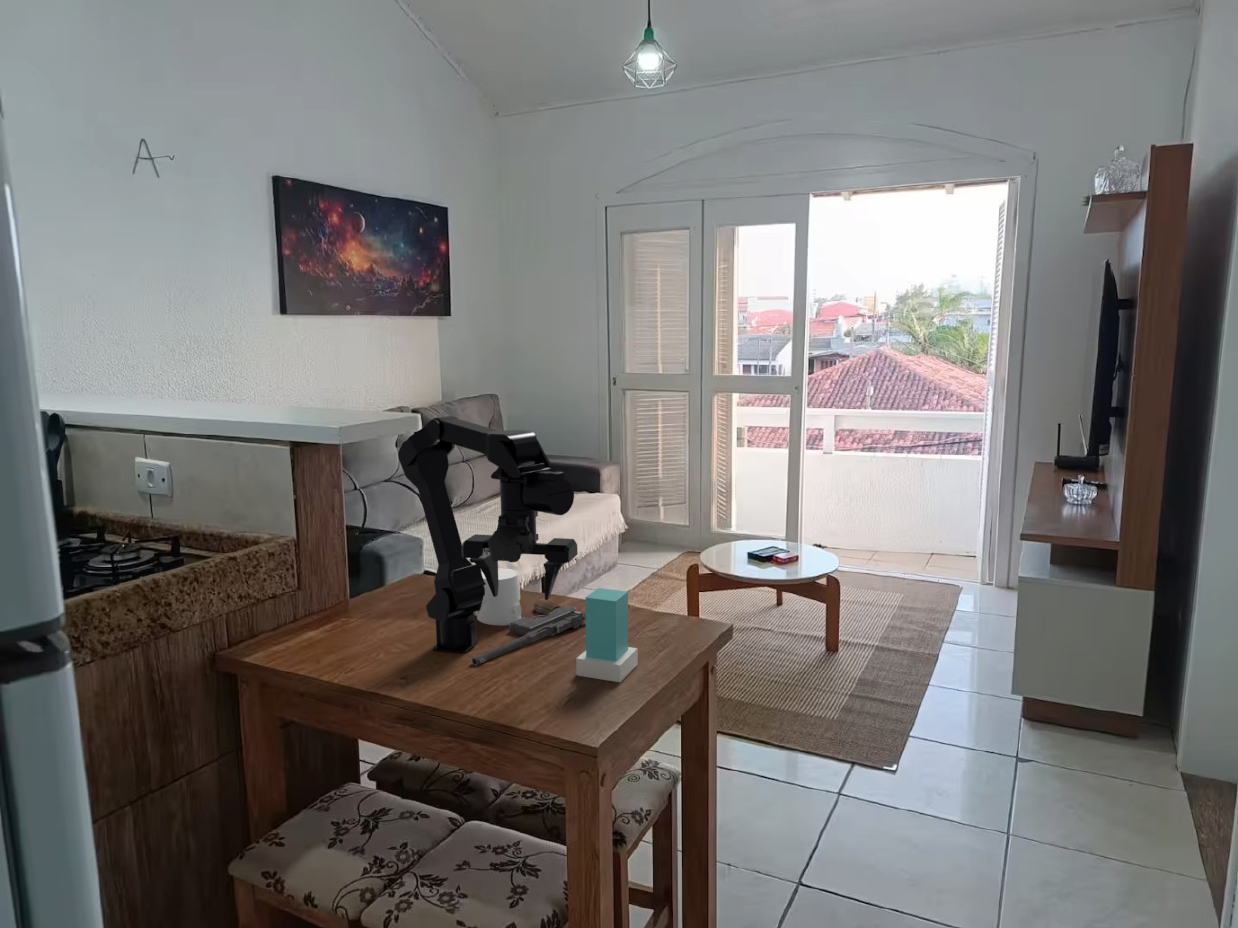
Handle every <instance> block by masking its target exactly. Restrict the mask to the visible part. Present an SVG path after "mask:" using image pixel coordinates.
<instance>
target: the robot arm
mask: <svg viewBox="0 0 1238 928" xmlns="http://www.w3.org/2000/svg"><path fill="white" fill-rule="evenodd" d="M455 446H459V447H461V448H465V449H467V450H472V451H474V452H477V453H481V454H482V455H484V456H485V457H486V459H487V461H488V462H489V463H491V464H493V465H494V466H496V467H497V468H496V470H495V471H493V472H492V473H491V475H490V478H491V480H499V494H500V495H499V496H500V515H499V516H498V520H497V528H496V529H495V531H494V532H493V533H492V534H474V535H472V536H470V537H469V538H467V539H465V540H464V541H463V542H462V540H461V536H460V532H459V528H458V524H457V522H456V518H455V513H454V510H453V508H452V503H451V501H450V496H449V492H448V489H447V485H446V478H447V475H448V471H449V468H450V463H449V458H448V457H449V455H450V454H451V453H452V451H453V450H454V449H455ZM397 454H398V455H397V459H398V461H399V463H400V466H401V468H402V470H403V474H404V476H405V478H406V479H407V480H409V482H411V484H412V485H413V486H414V487H415V488H416V489H417V490H418V494H419V498H420V501H421V505H422V509H423V512H424V517H425V519H426V523H427V527H428V531H429V534H430V535H429V536H430V538H431V541H432V546H433V550H434V553H435V556H436V557H435V558H436V561H437V565H438V566H437V569H436V574H435V577H434V580H433V583H434V584H433V585H434V590H435V594H434V595H433V596H432V598H431V599H430V600H429V602H428V603H427V604H426V606H425V609H426V612H427V616H428V618H430V619H433V620H435V637H436V640H435V641H436V643H435V645H434V646H432V651H438V652H439V651H440V652H449V653H458V654H465V653H467V652H468V651H469V650H470V649H471V648H472V647H474V646H475V645H476V644H477V643H478V642H479V638H478V631H477V627H478V626H477V620H475V616H474V615H475V613H476V611H480V609H481V605H482V601H483V597H484V595H485V588H484V585H486V583H485V582H484V580H483V577H482V573H481V571H482V572H483V574H484V575H485V578H486V580H487V582H488V585H489V587H490V590H491V592H492V594H493V596H494V597H496V596H497V595H498V568H499V563H498V562H509V563H517V562H518V561H519V560H520V559H521V557H522V556H521V555H537V556H539V555H541V556H544V558H545V559H546V561H545V562H544V563H543V568H544V574H545V575H544V591H543V592H544V598H545V600H548V599H549V600H550V597H551V594H552V591H553V588H554V585H555V582H556V579H557V577H558V575H559V572H560V570H561V568H562V567H563V566H565V565H566V564H567V563H570V562H571V561H572V560H573V559H574V558H575V557H576V556H577V555H578V543H577V542H576V540H575V539H574V538H564V537H563V538H561V537H553V538H552V539H551V540H550V541H548V542H546V543H541V542H539V543H538V540H539V533H537V519H536V518H537V517H538V516H539V513H544V514H550V515H554V516H555V515H557V516H563V515H565V514H567V513H568V512H569V511H570V509H572V506H573V504H574V500H575V491H574V490H573V486H572V484H571V483H570V482H569V481H568V480H566V479H565V473H564V471H554V468H553V466H552V463H550V462H551V461H550V460H549V458H548V457H547V455H546V453H545V451H544V449H543V447H542V445H541V444H540V441H539V440H538V438H537V435H536V434H535V432H533V431H531V430H523V429H521V430H519V429H512V430H498V429H495V428H492V427H487V426H484V425H481V424H477V423H473V422H470V421H467V420H462V419H460V418H458V417H457V416H453V415H448V416H447V415H446V416H438V417H434V418H432V419H431V420H429V421H428V422H427V423H426V425H425V426H424V427H421V429H419V430H417V431H416V432H415V433H413V434H412V435H410V436H409V437H408V438H407V439H406V440H404V441H403V442H402V444H401V446H400V448H399V450H398V451H397ZM538 512H539V513H538ZM474 612H475V613H474Z"/></svg>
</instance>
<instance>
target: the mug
mask: <svg viewBox="0 0 1238 928" xmlns="http://www.w3.org/2000/svg"><path fill="white" fill-rule="evenodd" d="M481 573H482V577H483V580H484V582H485V583H486V585H484V588H485V595H484V597H483V601H482V605H481V609H480V611H475V616H476V617H477V618H476V619H477V621H478V622H480V623H482V624H485V625H490V626H509V624H510V623H511V622H513V621H516V620H518V619H521V618H522V606H521V603H520V600H521V591H520V582H519V573H518V571H516V570H515V569H510V568H504V567H503V568H502V567H501V568H499V567H498V595H497V596H496V597H494V596H493V594H492V592H491V590H490V587H489V585H488V582H487V580H486V578H485V575H484V574H483V572H482V570H481Z"/></svg>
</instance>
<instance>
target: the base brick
mask: <svg viewBox="0 0 1238 928" xmlns="http://www.w3.org/2000/svg"><path fill="white" fill-rule="evenodd" d="M638 650H639V649H638V648H637V647H630V646H628V651H627V652H625V653H624V654H623V655H622V656H621V657H620V658H619V659H618V660H617V661H610V660H603V659H597V658H590V657H586V650H585V651H583V652H582V653H581V654H579V655H578V656H577V657H576V658H575V659H576V660H575V661H576V667H575V668H576V676H579V677H583V678H584V677H585V678H593V679H598V680H602V681H609V682H615V683H621V682H622V681H623V680H624V679H625V678H626V677H627V676H628V675H629V674H630V673H631V672H632V671H633V670H635V668H636V667H637V666H638V662H639V661H638V656H639V655H638V654H639V653H638Z"/></svg>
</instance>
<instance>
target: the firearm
mask: <svg viewBox="0 0 1238 928" xmlns="http://www.w3.org/2000/svg"><path fill="white" fill-rule="evenodd" d="M533 609H534V611H536V613H538V614H540V615H535V616H533V617H527V616H523V617H521V619H518V620H516V621H513V622H511V623H510V624H509V625H508V630H509V633H510V634H515V635H519V636H521V637H518V638H516V639H513V640H511V641H508V642H506V643H504V644H501V645H499V646H497V647H494V648H492V649H490V650H488V651H485V652H483V653H480V654H478V655H476V656H473V657H471V663H472V664H473V665H474V666H478V665H481V664H482V663H485V662H488V661H490V660H491V659H494V658H496V657H499V656H501V655H503V654H506V653H509V652H511V651H513V650H516V649H517V648H520V647H523V646H524V645H527V644H532V643H533V642H536V641H539V640H540V639H542V638H544V637H550V636H551V637H552V636H555V635H557V634H559V633H563V632H564V631H565V630H567V629H570V628H572V629H577V628H579V626H582V625H584V621H586V613H583V612H581V611H576V609H577V608H576V607H575V606H571V605H570V606H566V605H565V606H562V605H560V604H558V603H557V602H555V601H553V600H552V599H550V598H549V599H548V600H545V597H544V598H543V597H541V598H539V599H537V600H536V601H535V602H534V604H533Z"/></svg>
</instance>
